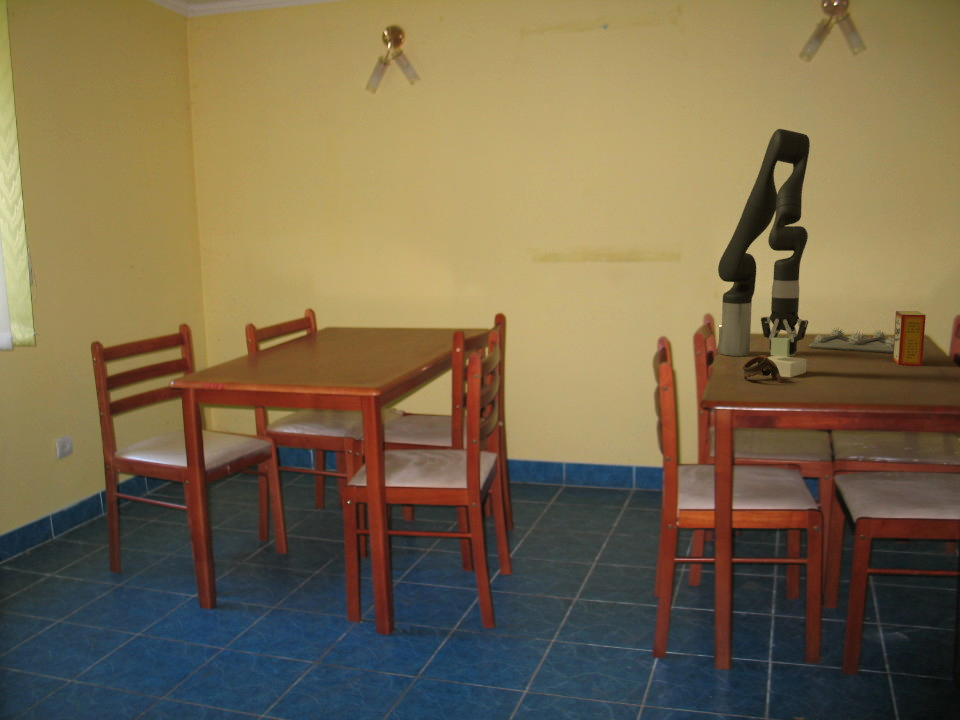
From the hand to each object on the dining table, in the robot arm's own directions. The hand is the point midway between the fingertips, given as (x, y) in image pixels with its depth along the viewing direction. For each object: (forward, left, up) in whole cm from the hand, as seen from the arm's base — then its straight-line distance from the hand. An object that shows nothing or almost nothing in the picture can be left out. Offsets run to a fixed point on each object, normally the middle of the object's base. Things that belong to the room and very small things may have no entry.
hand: (782, 353), depth 263 cm
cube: (0, 0, 0) cm, 0 cm away
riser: (0, 0, -6) cm, 6 cm away
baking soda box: (+21, +40, -6) cm, 46 cm away
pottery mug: (+1, -14, -6) cm, 15 cm away
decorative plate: (-3, +62, -7) cm, 62 cm away
